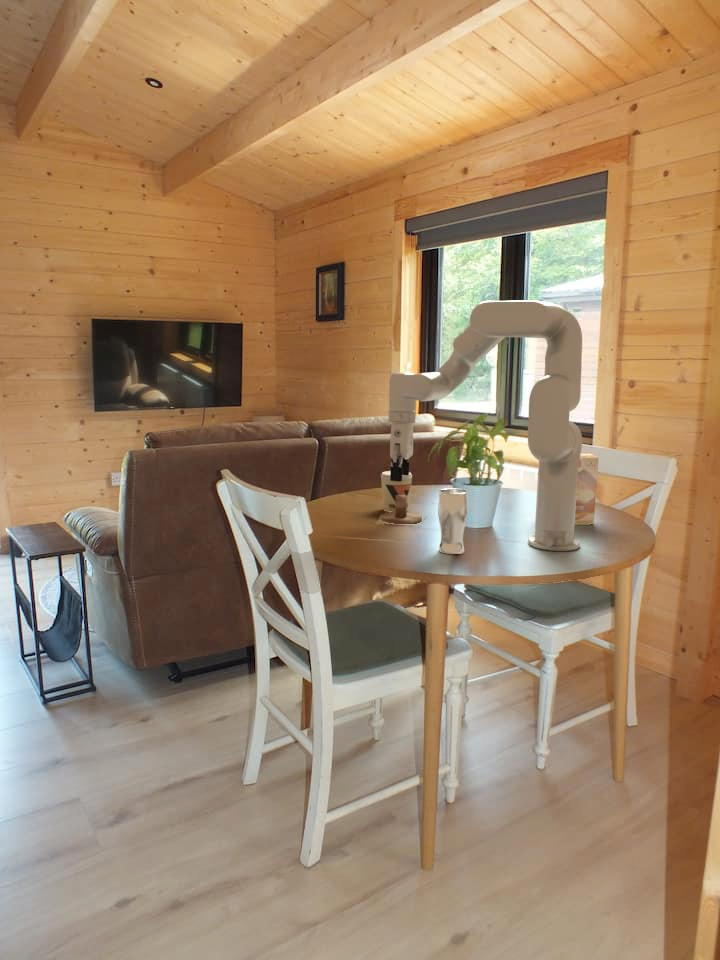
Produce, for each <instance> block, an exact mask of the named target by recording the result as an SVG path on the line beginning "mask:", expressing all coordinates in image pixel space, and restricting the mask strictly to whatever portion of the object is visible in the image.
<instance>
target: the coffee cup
mask: <svg viewBox="0 0 720 960" xmlns="http://www.w3.org/2000/svg"><path fill="white" fill-rule="evenodd" d="M390 472H391V470H387V471H382V472H381V474H380V479H381V480H380V482H381V497H382V498H381V499H382V510H383V509H384V510H387V511H392V512H395V496H396V495H406V496H407V511H408V510H409V511H410V504H411V503H410V500H411V491H412V490H411V489H412V478H413V474H412V473H411V472H410V471H409V475H402V481H401V482H398V481H391V480H390ZM409 511H408V512H409Z"/></svg>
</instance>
